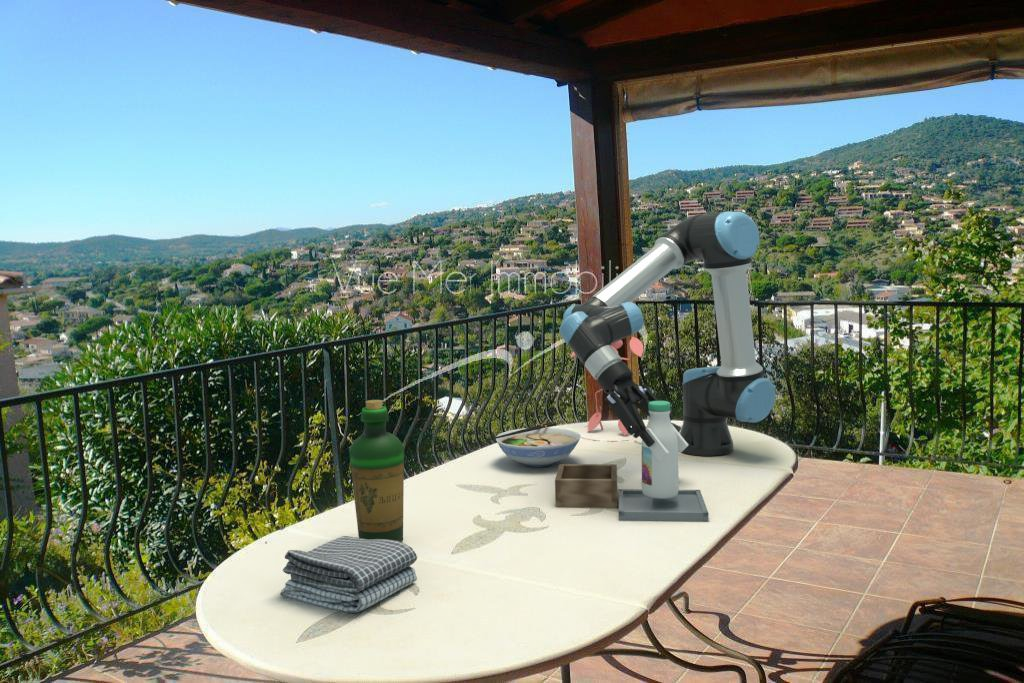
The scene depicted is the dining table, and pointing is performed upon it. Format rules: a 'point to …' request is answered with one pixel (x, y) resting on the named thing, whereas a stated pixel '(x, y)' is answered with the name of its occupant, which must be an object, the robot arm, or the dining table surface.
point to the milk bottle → (663, 474)
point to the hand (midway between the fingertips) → (674, 452)
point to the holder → (586, 485)
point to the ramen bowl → (538, 444)
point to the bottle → (378, 477)
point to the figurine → (637, 349)
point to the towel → (349, 573)
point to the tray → (662, 506)
